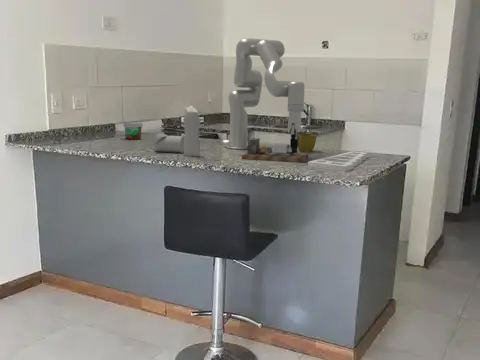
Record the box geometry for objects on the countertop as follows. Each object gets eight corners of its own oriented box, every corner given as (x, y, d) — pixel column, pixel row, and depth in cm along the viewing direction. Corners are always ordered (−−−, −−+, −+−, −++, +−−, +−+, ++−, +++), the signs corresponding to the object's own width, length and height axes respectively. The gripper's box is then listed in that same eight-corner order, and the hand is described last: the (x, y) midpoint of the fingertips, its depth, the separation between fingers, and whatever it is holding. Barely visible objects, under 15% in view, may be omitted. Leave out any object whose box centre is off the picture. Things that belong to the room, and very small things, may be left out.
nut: (256, 154, 261) (257, 145, 260) (258, 153, 265) (259, 144, 264) (265, 154, 259) (266, 145, 259) (267, 153, 264) (267, 144, 263)
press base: (241, 159, 258) (241, 140, 256) (248, 155, 271) (249, 137, 270) (304, 162, 250) (304, 143, 249) (308, 158, 264) (309, 139, 262)
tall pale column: (181, 155, 268) (180, 110, 264) (186, 154, 271) (186, 110, 267) (197, 157, 262) (197, 111, 258) (202, 156, 265) (202, 111, 261)
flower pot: (300, 152, 282) (301, 135, 281) (294, 150, 291) (295, 133, 289) (316, 152, 285) (317, 135, 283) (309, 150, 293) (310, 133, 291)
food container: (119, 139, 326) (119, 123, 324) (124, 138, 332) (124, 122, 330) (138, 140, 323) (137, 123, 321) (142, 139, 329) (142, 123, 327)
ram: (271, 152, 257) (272, 131, 255) (275, 150, 264) (275, 130, 262) (295, 153, 254) (296, 132, 252) (298, 151, 261) (299, 131, 259)
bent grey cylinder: (141, 150, 275) (178, 151, 270) (143, 129, 276) (180, 131, 271) (155, 153, 292) (190, 154, 288) (156, 133, 293) (191, 135, 288)
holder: (351, 156, 275) (351, 151, 274) (385, 160, 264) (385, 154, 264) (307, 167, 239) (307, 161, 239) (344, 172, 229) (345, 166, 228)
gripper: (290, 107, 263) (289, 144, 266) (284, 109, 247) (283, 148, 251) (306, 107, 261) (304, 145, 264) (300, 109, 245) (299, 149, 249)
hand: (294, 146), depth 257 cm, fingers closed on ram, 3 cm apart
